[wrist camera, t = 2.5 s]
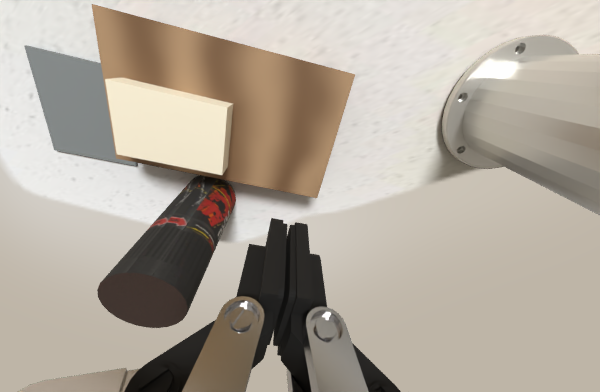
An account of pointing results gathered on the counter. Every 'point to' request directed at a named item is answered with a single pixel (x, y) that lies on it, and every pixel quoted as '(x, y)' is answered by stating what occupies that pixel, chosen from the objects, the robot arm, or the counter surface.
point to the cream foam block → (169, 125)
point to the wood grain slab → (236, 97)
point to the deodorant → (170, 257)
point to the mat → (74, 104)
